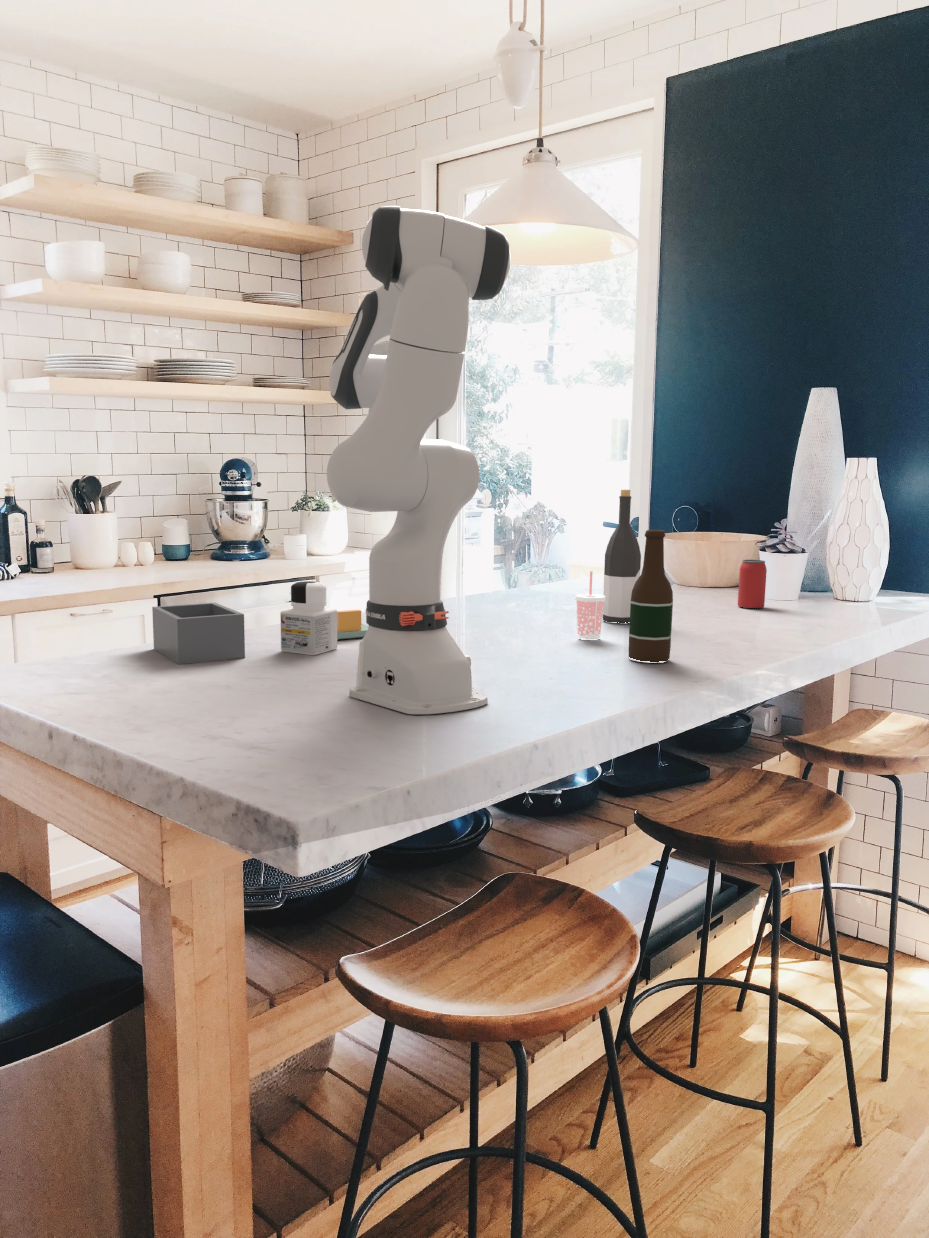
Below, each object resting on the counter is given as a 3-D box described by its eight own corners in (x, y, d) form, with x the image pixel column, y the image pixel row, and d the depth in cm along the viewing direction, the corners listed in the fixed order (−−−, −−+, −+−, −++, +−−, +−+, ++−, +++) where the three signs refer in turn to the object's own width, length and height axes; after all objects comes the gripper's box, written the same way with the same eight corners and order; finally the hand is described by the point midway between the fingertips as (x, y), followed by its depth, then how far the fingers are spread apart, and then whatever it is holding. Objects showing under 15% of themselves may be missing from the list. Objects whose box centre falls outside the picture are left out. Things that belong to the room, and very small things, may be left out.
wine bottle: (602, 618, 225) (607, 488, 221) (637, 619, 224) (643, 489, 220) (602, 623, 218) (607, 489, 213) (638, 624, 216) (644, 490, 212)
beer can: (738, 608, 243) (741, 561, 241) (736, 605, 250) (738, 559, 248) (765, 609, 242) (769, 562, 240) (762, 606, 248) (765, 559, 247)
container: (280, 651, 180) (279, 582, 178) (305, 645, 187) (304, 578, 185) (313, 656, 177) (312, 585, 175) (338, 649, 184) (337, 581, 182)
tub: (244, 657, 174) (243, 614, 173) (178, 664, 168) (177, 619, 167) (216, 643, 188) (215, 602, 186) (153, 648, 181) (152, 606, 180)
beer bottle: (619, 659, 178) (625, 529, 174) (642, 654, 183) (648, 527, 179) (655, 666, 172) (662, 532, 168) (678, 660, 178) (685, 530, 174)
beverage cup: (595, 635, 202) (598, 569, 200) (609, 641, 196) (611, 572, 194) (569, 637, 200) (571, 570, 198) (581, 642, 194) (584, 573, 192)
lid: (378, 638, 197) (378, 609, 196) (324, 644, 191) (324, 614, 190) (344, 627, 210) (344, 599, 209) (292, 631, 204) (292, 603, 203)
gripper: (432, 426, 182) (432, 500, 184) (380, 430, 199) (381, 497, 201) (403, 425, 179) (404, 500, 181) (353, 429, 196) (354, 498, 198)
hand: (391, 499), depth 191 cm, fingers open, 8 cm apart
